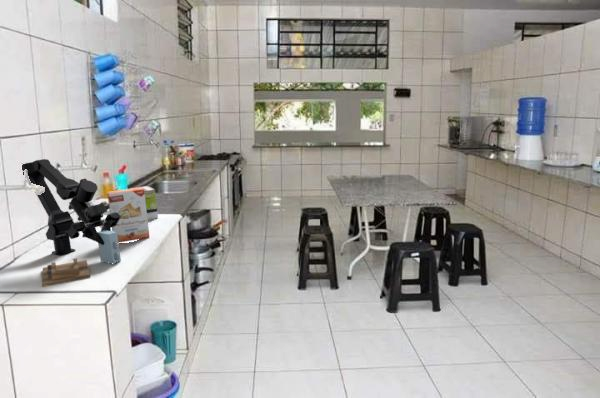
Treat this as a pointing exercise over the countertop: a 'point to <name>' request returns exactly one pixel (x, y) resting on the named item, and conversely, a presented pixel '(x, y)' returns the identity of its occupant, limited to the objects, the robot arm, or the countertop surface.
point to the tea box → (150, 202)
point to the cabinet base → (65, 272)
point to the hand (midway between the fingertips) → (108, 242)
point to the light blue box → (109, 247)
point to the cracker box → (129, 214)
